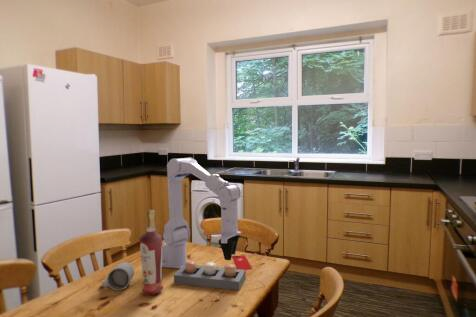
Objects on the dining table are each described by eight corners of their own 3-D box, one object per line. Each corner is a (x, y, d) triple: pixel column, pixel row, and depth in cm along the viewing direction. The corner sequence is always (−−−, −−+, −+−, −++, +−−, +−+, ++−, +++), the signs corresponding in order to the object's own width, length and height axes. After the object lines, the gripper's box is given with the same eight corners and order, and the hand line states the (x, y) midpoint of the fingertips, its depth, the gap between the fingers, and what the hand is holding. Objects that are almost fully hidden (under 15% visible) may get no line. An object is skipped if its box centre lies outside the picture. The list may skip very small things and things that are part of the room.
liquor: (168, 290, 112) (166, 209, 110) (152, 299, 105) (149, 214, 103) (153, 285, 116) (150, 207, 114) (136, 294, 109) (133, 211, 107)
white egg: (203, 274, 117) (202, 266, 117) (206, 269, 121) (206, 261, 121) (213, 275, 116) (213, 267, 116) (217, 270, 120) (217, 262, 120)
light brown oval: (223, 276, 116) (223, 267, 115) (226, 271, 119) (226, 263, 119) (234, 277, 115) (234, 268, 114) (237, 272, 118) (236, 264, 118)
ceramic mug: (135, 279, 121) (134, 259, 120) (129, 290, 112) (128, 268, 112) (106, 281, 120) (105, 260, 119) (98, 291, 112) (97, 269, 111)
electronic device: (252, 269, 129) (244, 256, 144) (252, 268, 129) (244, 255, 144) (237, 271, 128) (231, 257, 143) (237, 270, 128) (231, 256, 143)
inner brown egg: (183, 272, 119) (183, 264, 119) (188, 267, 123) (187, 260, 123) (193, 273, 118) (193, 265, 118) (198, 268, 122) (197, 261, 122)
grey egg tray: (173, 283, 117) (173, 274, 117) (185, 271, 127) (185, 264, 127) (239, 290, 111) (238, 281, 111) (245, 277, 121) (245, 269, 121)
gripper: (235, 225, 108) (235, 265, 109) (245, 214, 122) (245, 250, 123) (214, 224, 109) (215, 263, 110) (226, 213, 123) (227, 249, 124)
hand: (229, 256), depth 117 cm, fingers open, 5 cm apart
